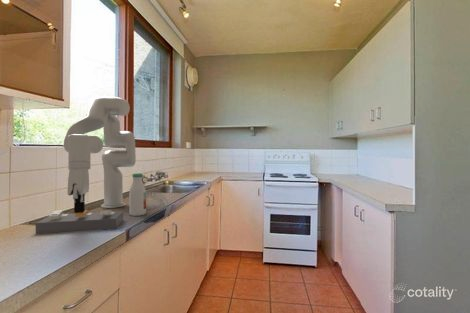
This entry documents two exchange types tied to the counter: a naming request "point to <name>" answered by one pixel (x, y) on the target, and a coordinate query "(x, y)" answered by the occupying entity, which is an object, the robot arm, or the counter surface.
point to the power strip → (80, 222)
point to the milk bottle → (137, 196)
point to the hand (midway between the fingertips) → (79, 212)
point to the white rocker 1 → (56, 214)
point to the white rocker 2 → (105, 212)
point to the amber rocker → (81, 213)
